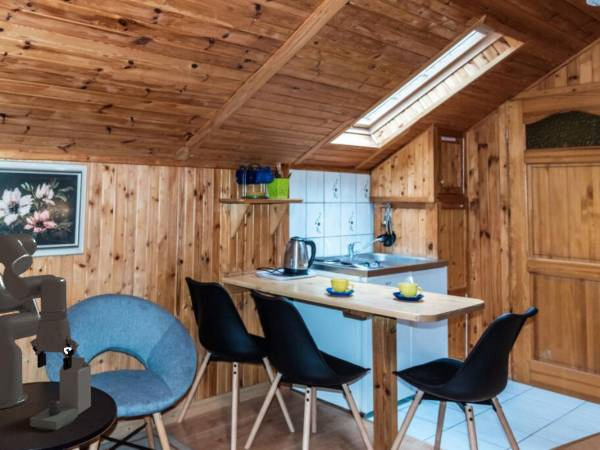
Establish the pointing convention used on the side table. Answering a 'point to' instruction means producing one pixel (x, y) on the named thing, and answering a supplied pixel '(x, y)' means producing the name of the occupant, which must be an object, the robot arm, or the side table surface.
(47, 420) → the square plate with knob
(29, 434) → the side table surface
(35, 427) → the mat
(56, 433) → the side table surface
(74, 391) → the milk carton
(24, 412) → the side table surface
